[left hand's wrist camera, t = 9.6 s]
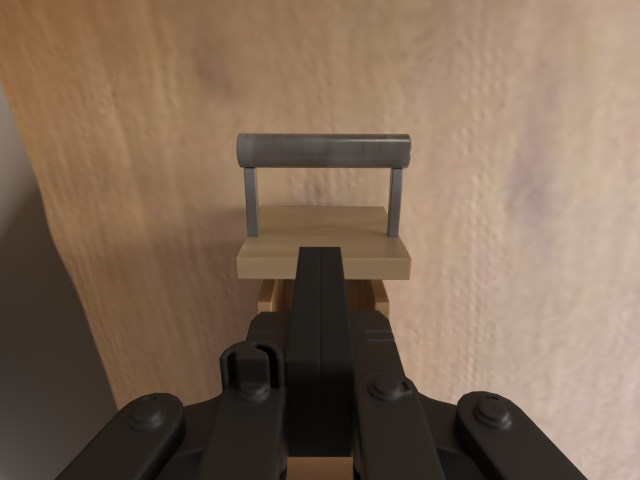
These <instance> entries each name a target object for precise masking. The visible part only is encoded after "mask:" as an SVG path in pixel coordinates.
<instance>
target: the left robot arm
mask: <svg viewBox="0 0 640 480" xmlns="http://www.w3.org/2000/svg"><path fill="white" fill-rule="evenodd" d="M219 360H220V369H221V379H222V388H223V391H222V394H220V395H219V396H217V397H215V398H213V399H211V400H208V401H205V402H201V403H197V404H193V405H189V406H185V407H183V403H182V402H181V401H180V400H179V399H178V397H176V396H174V395H171V394H169V393H153V394H149V395H145V396H142V397H140V398H137V399H135V400H133V401H131V402H130V403H128V404H127V405H126V406H125V407H123V408H122V409H121V410H120V411H119V412H118V413H117V414H116V415H115V416H114V417H113V418H112V419H111V420H110V421H109V422H108V424H107V425H106V426H105V427H104V428H103V429H102V430H101V431H100V432H99V433H98V434H97V435H96V436H95V437H94V438H93V439H92V440H91V442H90V443H89V444H88V445H87V446H86V447H85V448H84V449H83V450H82V451H81V452H80V453H79V454H78V455H77V456H76V457H75V459H74V460H73V461H72V462H71V463H70V464H69V465H68V466H67V467H66V468H65V469H64V470H63V471H62V472H61V473H60V474H59V476H58V477H57V478H56V479H55V480H288V472H287V458H288V457H352V456H353V472H352V480H588V479H587V478H586V477H585V476H584V475H583V474H582V473H581V472H580V471H579V470H578V469H577V468H576V467H575V466H574V465H573V463H572V462H571V461H570V460H569V459H568V458H567V457H566V456H565V455H564V454H563V453H562V452H561V451H560V450H559V449H558V448H557V447H556V446H555V444H554V443H553V442H552V441H551V440H550V439H549V438H548V437H547V436H546V435H545V434H544V433H543V432H542V431H541V430H540V429H539V428H538V427H537V426H536V424H535V423H534V422H533V421H532V420H531V419H530V418H529V417H528V416H527V415H526V414H525V413H524V412H523V411H522V410H521V409H520V408H519V407H518V406H517V405H515V404H514V403H513V402H512V401H510V400H508V399H506V398H504V397H502V396H500V395H498V394H494V393H490V392H485V391H475V392H470V393H468V394H465V395H463V396H462V397H461V398H460V400H459V401H458V403H457V405H454V404H449V403H445V402H441V401H437V400H434V399H431V398H428V397H426V396H425V395H423V394H421V393H419V392H418V390H417V388H416V387H415V385H414V383H413V382H412V381H411V380H410V379H408V378H407V377H406V376H405V373H404V370H403V367H402V363H401V360H400V356H399V353H398V350H397V346H396V343H395V340H394V336H393V333H392V329H391V326H390V323H389V320H388V319H387V318H386V317H385V316H384V315H383V314H382V313H381V312H380V311H379V310H349V309H348V301H347V293H346V285H345V278H344V270H343V262H342V255H341V247H299V255H298V262H297V270H296V278H295V285H294V293H293V301H292V309H291V312H260V313H259V314H258V315H257V316H256V317H255V318H254V319H253V320H252V321H251V324H250V328H249V331H248V334H247V338H246V341H242V342H240V343H237V344H234V345H232V346H231V347H229V348H228V349H226V350H225V351H224V352H223V354H222V355H221V357H220V358H219Z"/></svg>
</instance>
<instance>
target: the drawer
mask: <svg viewBox="0 0 640 480" xmlns="http://www.w3.org/2000/svg"><path fill="white" fill-rule="evenodd" d="M410 158H411V139H410V136H409V135H408V134H243V133H240V134H239V135H238V138H237V159H238V163H239V166H240V167H241V168H244V179H245V195H246V211H247V227H248V235H247V237H246V239H245V241H244V243H243V245H242V247H241V249H240V251H239V253H238V255H237V257H236V270H237V279H263V283H262V286H261V290H260V293H259V296H258V300H257V315H258V314H259V313H260V312H291V309H292V301H293V293H294V285H295V278H296V270H297V262H298V255H299V247H341V255H342V262H343V270H344V278H345V285H346V293H347V301H348V309H349V310H379V311H380V312H381V313H382V314H383V315H384V316H385V317H386V318H387V319H388V320H389V309H390V302H389V299H388V296H387V293H386V290H385V287H384V283H383V280H409V279H410V273H411V262H412V259H411V257H410V255H409V253H408V251H407V249H406V247H405V246H404V244H403V242H402V240H401V238H400V236H399V221H400V208H401V196H402V183H403V168H407V167H408V166H409V163H410ZM256 168H391V175H390V190H389V205H388V214H387V212H386V210H385V209H384V207H321V206H262V207H261V208H260V210H259V208H258V189H257V170H256Z"/></svg>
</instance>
